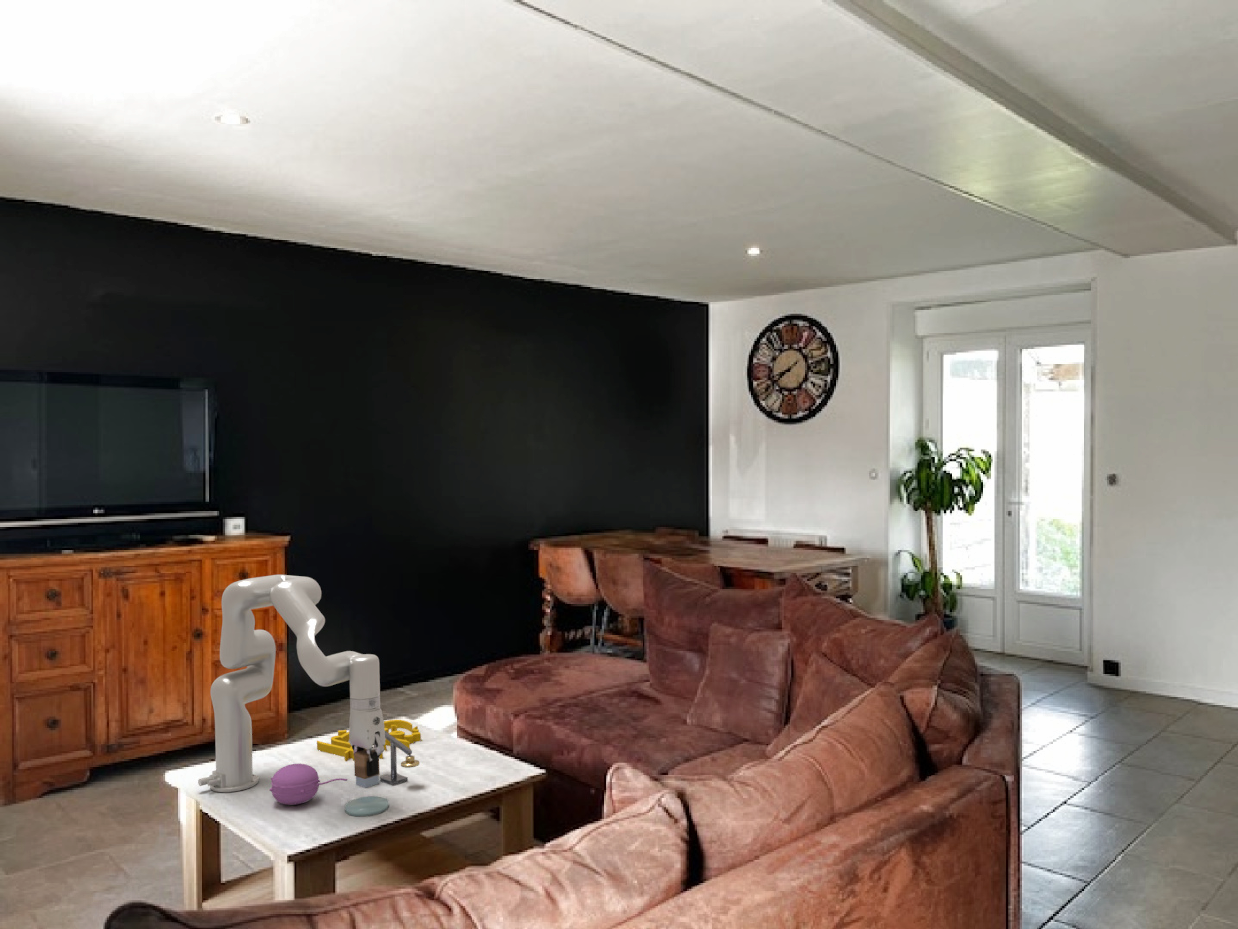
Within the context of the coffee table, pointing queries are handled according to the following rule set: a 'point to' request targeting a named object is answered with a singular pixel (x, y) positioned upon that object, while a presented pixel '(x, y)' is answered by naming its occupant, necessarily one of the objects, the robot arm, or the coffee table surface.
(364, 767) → the walnut block
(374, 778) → the greyblue block
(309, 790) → the purple ovoid with tail
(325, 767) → the coffee table surface
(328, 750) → the decorative art
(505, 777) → the coffee table surface
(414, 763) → the balance
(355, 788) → the coffee table surface
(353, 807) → the dish
